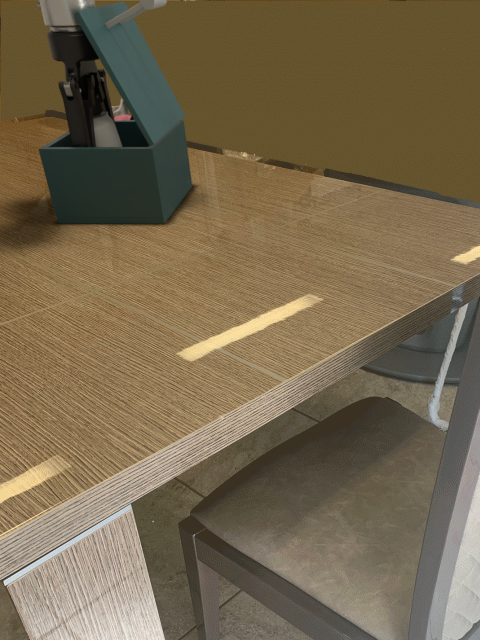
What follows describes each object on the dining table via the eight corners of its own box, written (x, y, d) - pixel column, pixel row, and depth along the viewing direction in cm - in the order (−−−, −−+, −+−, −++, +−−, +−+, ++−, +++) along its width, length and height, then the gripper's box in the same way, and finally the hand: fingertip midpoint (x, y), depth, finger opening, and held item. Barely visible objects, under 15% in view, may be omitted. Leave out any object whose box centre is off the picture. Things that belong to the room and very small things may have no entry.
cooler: (57, 223, 100) (38, 148, 94) (100, 186, 116) (85, 120, 110) (164, 223, 99) (152, 148, 93) (192, 186, 115) (183, 119, 109)
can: (98, 193, 109) (70, 117, 102) (136, 184, 110) (110, 108, 103) (97, 203, 104) (67, 123, 97) (136, 193, 105) (110, 114, 98)
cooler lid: (73, 13, 83) (128, -21, 81) (120, 3, 99) (167, -26, 97) (149, 146, 93) (201, 119, 90) (181, 117, 109) (226, 94, 106)
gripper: (72, 22, 101) (103, 174, 115) (18, 35, 85) (62, 209, 99) (118, 22, 101) (144, 174, 114) (73, 34, 85) (110, 209, 99)
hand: (106, 190), depth 107 cm, fingers closed on can, 6 cm apart
